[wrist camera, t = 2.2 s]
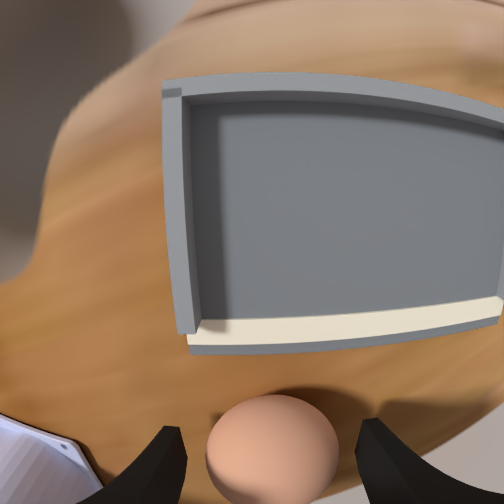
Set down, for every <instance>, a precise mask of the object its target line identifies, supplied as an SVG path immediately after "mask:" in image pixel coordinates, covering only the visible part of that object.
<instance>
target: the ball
mask: <svg viewBox="0 0 504 504" xmlns="http://www.w3.org/2000/svg"><path fill="white" fill-rule="evenodd" d="M205 457H206V466H207V470H208V473H209V476H210V478H211V480H212V482H213V484H214V486H215V487H216V488H217V490H218V491H219V492H220V493H221V494H222V495H223V496H224V497H225V498H226V499H227V500H229V501H230V502H231V503H233V504H310V503H311V502H313V501H314V500H315V499H317V498H318V497H319V496H320V495H321V494H322V493H323V492H324V491H325V490H326V489H327V488H328V486H329V484H330V483H331V481H332V480H333V478H334V475H335V473H336V470H337V468H338V463H339V443H338V439H337V436H336V433H335V431H334V428H333V427H332V425H331V423H330V422H329V420H328V419H327V418H326V417H325V416H324V415H323V414H322V413H321V412H320V411H319V410H318V409H317V408H315V407H314V406H312V405H311V404H309V403H307V402H305V401H303V400H300V399H297V398H294V397H291V396H286V395H263V396H257V397H254V398H250V399H248V400H245V401H243V402H241V403H239V404H237V405H235V406H234V407H232V408H231V409H230V410H228V411H227V412H226V413H225V414H224V415H223V416H222V417H221V418H220V419H219V420H218V421H217V423H216V424H215V426H214V427H213V429H212V431H211V433H210V435H209V438H208V441H207V445H206V455H205Z"/></svg>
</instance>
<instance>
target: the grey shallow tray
mask: <svg viewBox="0 0 504 504" xmlns="http://www.w3.org/2000/svg"><path fill="white" fill-rule="evenodd" d="M162 160H163V186H164V205H165V220H166V234H167V246H168V257H169V267H170V277H171V286H172V294H173V303H174V311H175V318H176V325H177V333H178V334H187V340H188V344H189V350H190V355H259V354H286V353H304V352H318V351H331V350H342V349H352V348H361V347H370V346H378V345H386V344H394V343H401V342H407V341H414V340H420V339H426V338H432V337H438V336H443V335H448V334H453V333H458V332H463V331H468V330H473V329H477V328H482V327H486V326H490V325H494V324H497V323H498V319H499V315H501V312H502V307H503V303H504V109H502V108H499V107H496V106H493V105H490V104H487V103H484V102H481V101H477V100H474V99H471V98H467V97H464V96H460V95H456V94H452V93H448V92H444V91H440V90H436V89H431V88H427V87H422V86H417V85H412V84H406V83H401V82H395V81H389V80H382V79H375V78H367V77H358V76H349V75H337V74H323V73H302V72H253V73H232V74H217V75H206V76H196V77H187V78H179V79H172V80H165V81H162Z"/></svg>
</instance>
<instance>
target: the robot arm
mask: <svg viewBox="0 0 504 504" xmlns="http://www.w3.org/2000/svg"><path fill="white" fill-rule="evenodd" d="M355 455H356V461H357V465H358V470H359V473H360V476H361V479H362V482H363V485H364V487H365V490H366V493H367V496H368V499H369V502H370V504H504V494H500V493H495V492H490V491H486V490H483V489H479V488H476V487H473V486H470V485H468V484H465V483H463V482H461V481H458V480H456V479H454V478H452V477H450V476H448V475H446V474H444V473H443V472H441V471H440V470H438V469H436V468H435V467H433V466H432V465H430V464H429V463H427V462H426V461H425V460H423V459H422V458H421V457H419V456H418V455H417V454H416V453H414V452H413V451H412V450H411V449H410V448H409V447H408V446H406V445H405V444H404V443H403V442H402V441H401V440H400V439H399V438H398V437H397V436H396V435H395V434H394V433H392V432H391V431H390V430H389V429H388V428H387V427H386V426H385V425H384V424H383V423H382V422H381V421H380V420H379V419H378V418H377V417H376V418H371V419H365V420H363V422H362V426H361V430H360V434H359V437H358V441H357V445H356V448H355ZM187 459H188V457H187V454H186V450H185V447H184V443H183V439H182V435H181V432H180V428H179V427H174V426H164V427H162V429H161V430H160V431H159V432H158V434H157V435H156V436H155V437H154V439H153V440H152V441H151V442H150V443H149V445H148V446H147V447H146V448H145V449H144V450H143V451H142V453H141V454H140V455H139V456H138V457H137V458H136V459H135V460H134V461H133V462H132V463H131V464H130V465H129V466H128V467H127V468H126V469H125V470H124V471H123V472H122V473H121V474H119V475H118V476H117V477H116V478H115V479H114V480H112V481H111V482H110V483H108V484H107V485H106V486H104V487H103V486H102V484H101V483H100V481H99V480H98V478H97V476H96V475H95V473H94V472H93V470H92V468H91V467H90V465H89V463H88V461H87V460H86V458H85V456H84V455H83V453H82V451H81V449H80V447H79V446H78V444H76V443H75V442H74V441H72V440H69V439H65V438H62V437H59V436H56V435H53V434H50V433H47V432H44V431H41V430H38V429H35V428H33V427H30V426H27V425H25V424H22V423H20V422H17V421H15V420H12V419H10V418H7V417H5V416H3V415H1V414H0V504H178V501H179V498H180V494H181V491H182V487H183V483H184V480H185V474H186V467H187Z"/></svg>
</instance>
